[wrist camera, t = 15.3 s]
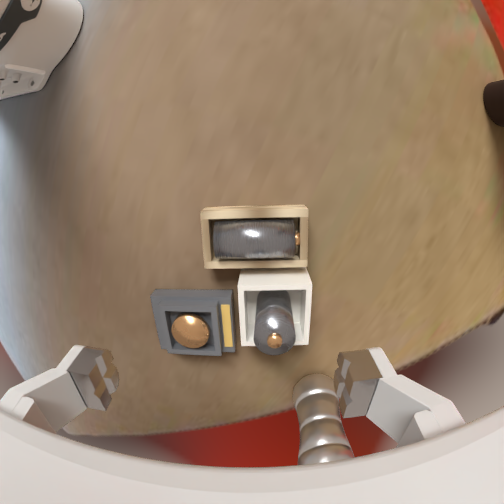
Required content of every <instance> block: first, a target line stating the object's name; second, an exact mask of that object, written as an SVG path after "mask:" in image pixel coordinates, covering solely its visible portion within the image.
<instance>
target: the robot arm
mask: <svg viewBox="0 0 504 504" xmlns="http://www.w3.org/2000/svg"><path fill="white" fill-rule="evenodd" d="M82 19H83V8H82V5H81V4H80V2H79V1H77V0H0V100H2V99H5V98H9V97H13V96H18V95H22V94H26V93H31V92H36V91H40V90H41V89H42V88H43V87H44V85H45V84H46V82H47V80H48V78H49V76H50V74H51V72H52V70H53V69H54V68H55V66H56V65H57V64H58V63H59V62H60V61H61V60H62V58H63V57H64V56H65V55H66V53H67V52H68V50H69V49H70V47H71V46H72V44H73V43H74V41H75V39H76V37H77V35H78V32H79V30H80V27H81V24H82ZM112 360H113V356H112V354H111V351H109V350H107V349H100V348H94V347H88V346H81V345H75V346H73V347H72V348H71V350H70V351H69V352H68V353H67V355H66V356H65V357H64V358H63V360H62V361H61V362H60V364H59V365H58V366H57V367H56V369H54V368H52V369H50V370H48V371H46V372H44V373H42V374H39V375H37V376H35V377H33V378H31V379H29V380H27V381H25V382H23V383H20V384H18V385H16V386H14V387H12V388H10V389H9V390H8V391H7V392H6V394H5V395H4V396H3V398H2V399H1V400H0V504H504V406H503V407H501V408H499V409H497V410H495V411H493V412H491V413H489V414H487V415H485V416H483V417H480V418H478V419H476V420H474V421H472V422H469V423H467V424H466V423H465V422H464V420H463V418H462V417H461V415H460V414H459V412H458V410H457V409H456V407H455V406H454V404H453V403H452V401H450V400H448V399H447V398H444V397H443V396H441V395H439V394H437V393H435V392H433V391H431V390H429V389H427V388H425V387H423V386H422V385H420V384H418V383H416V382H414V381H412V380H410V379H408V378H406V377H405V376H403V375H397V374H396V372H395V370H394V368H393V367H392V365H391V363H390V362H389V360H388V358H387V357H386V355H385V353H384V352H383V350H382V348H380V347H375V348H369V349H364V350H356V351H347V352H339V355H338V358H337V363H338V366H339V367H338V368H337V369H336V370H335V374H334V389H335V393H336V396H338V397H339V398H340V402H339V406H340V410H341V413H342V416H343V418H350V417H357V416H364V415H366V416H367V417H368V418H369V419H370V420H371V421H373V422H374V423H375V424H376V425H377V426H378V427H380V428H381V429H382V430H383V431H384V432H386V433H387V434H388V435H389V436H390V437H391V438H393V439H394V440H395V441H396V442H397V443H398V445H397V447H396V448H395V449H391V450H387V451H383V452H378V453H375V454H370V455H365V456H360V457H355V458H349V459H343V460H337V461H331V462H323V463H315V464H306V465H296V466H281V467H255V468H253V467H252V468H251V467H249V468H245V467H244V468H243V467H242V468H241V467H238V468H237V467H236V468H235V467H213V466H199V465H189V464H180V463H171V462H165V461H158V460H152V459H146V458H141V457H136V456H130V455H126V454H122V453H117V452H113V451H109V450H105V449H101V448H98V447H94V446H90V445H87V444H84V443H81V442H77V441H74V440H71V439H68V438H65V437H63V436H60V435H57V434H56V432H57V431H58V430H59V429H61V428H62V427H64V426H65V425H66V424H68V423H69V422H70V421H71V420H73V419H74V418H75V417H77V416H78V415H79V414H81V413H82V412H83V411H85V410H86V409H87V407H88V408H92V409H97V410H103V411H106V410H107V408H108V405H109V403H110V401H111V399H112V398H111V395H110V394H111V393H113V392H115V391H116V389H117V387H118V384H119V373H118V370H117V368H116V367H115V366H114V365H113V364H112Z"/></svg>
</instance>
